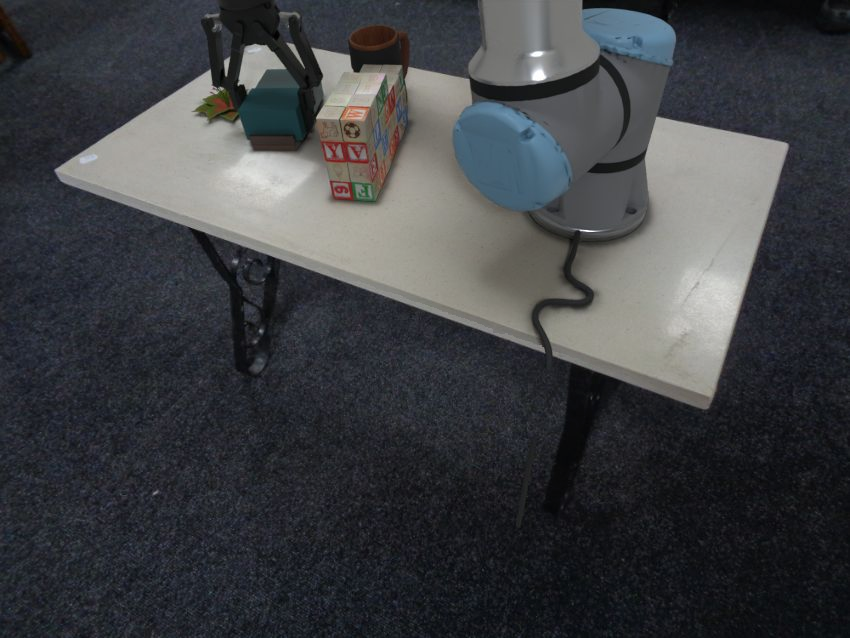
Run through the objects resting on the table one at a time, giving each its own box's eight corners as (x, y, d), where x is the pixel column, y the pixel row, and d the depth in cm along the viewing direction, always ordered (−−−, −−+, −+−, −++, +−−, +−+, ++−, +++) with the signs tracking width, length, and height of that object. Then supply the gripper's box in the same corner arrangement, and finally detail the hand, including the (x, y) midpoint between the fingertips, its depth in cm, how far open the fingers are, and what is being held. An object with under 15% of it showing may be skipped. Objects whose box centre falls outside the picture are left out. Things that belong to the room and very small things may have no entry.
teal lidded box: (302, 151, 86) (294, 117, 82) (247, 150, 87) (236, 118, 83) (326, 97, 97) (320, 65, 93) (276, 97, 98) (268, 66, 94)
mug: (430, 93, 95) (426, 22, 86) (384, 126, 89) (375, 54, 80) (392, 80, 99) (385, 10, 90) (346, 111, 93) (333, 40, 84)
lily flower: (224, 86, 102) (215, 61, 98) (277, 97, 98) (270, 71, 95) (179, 118, 95) (168, 92, 92) (235, 131, 91) (226, 104, 88)
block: (303, 140, 86) (295, 110, 82) (247, 140, 87) (237, 110, 83) (313, 117, 91) (306, 87, 87) (260, 117, 92) (251, 88, 88)
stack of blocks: (371, 120, 91) (360, 42, 82) (408, 122, 90) (402, 43, 81) (332, 199, 77) (314, 116, 68) (376, 202, 76) (363, 119, 67)
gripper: (325, -44, 73) (352, 115, 90) (169, -39, 75) (223, 115, 92) (312, -24, 68) (343, 140, 85) (145, -19, 71) (207, 140, 87)
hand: (280, 127), depth 89 cm, fingers open, 9 cm apart
